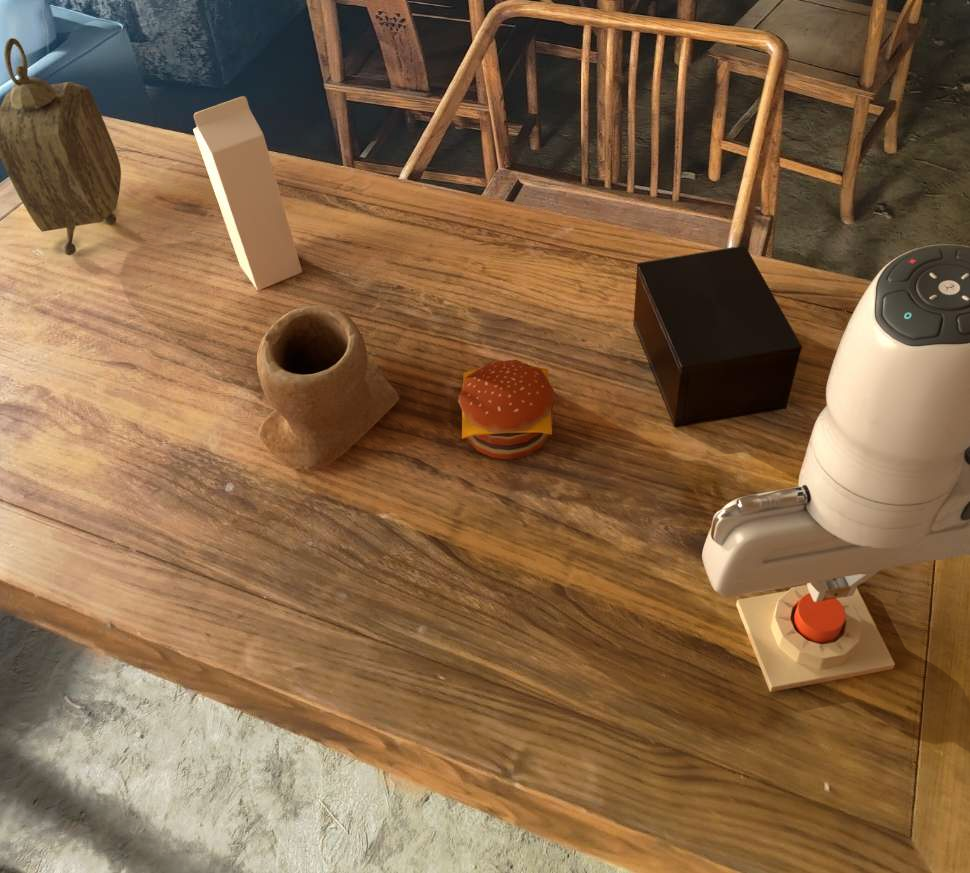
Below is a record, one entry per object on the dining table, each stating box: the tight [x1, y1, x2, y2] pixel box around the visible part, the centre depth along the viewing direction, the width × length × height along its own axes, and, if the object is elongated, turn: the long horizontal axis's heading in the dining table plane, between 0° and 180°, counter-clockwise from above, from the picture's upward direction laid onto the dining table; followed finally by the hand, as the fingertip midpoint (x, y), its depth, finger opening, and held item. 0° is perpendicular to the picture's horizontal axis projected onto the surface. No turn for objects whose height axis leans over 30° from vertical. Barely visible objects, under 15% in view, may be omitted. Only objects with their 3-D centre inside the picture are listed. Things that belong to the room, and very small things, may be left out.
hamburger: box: [457, 359, 556, 460], centre depth 92 cm, size 9×10×7 cm
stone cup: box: [256, 304, 400, 472], centre depth 90 cm, size 15×12×15 cm
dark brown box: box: [632, 245, 803, 428], centre depth 95 cm, size 16×12×9 cm
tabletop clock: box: [0, 37, 122, 256], centre depth 113 cm, size 14×9×25 cm, turn 10°
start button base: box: [735, 584, 896, 693], centre depth 75 cm, size 10×8×4 cm
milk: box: [192, 95, 303, 291], centre depth 106 cm, size 6×6×22 cm
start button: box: [794, 593, 846, 643], centre depth 73 cm, size 4×4×2 cm
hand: (828, 591), depth 70 cm, fingers closed
